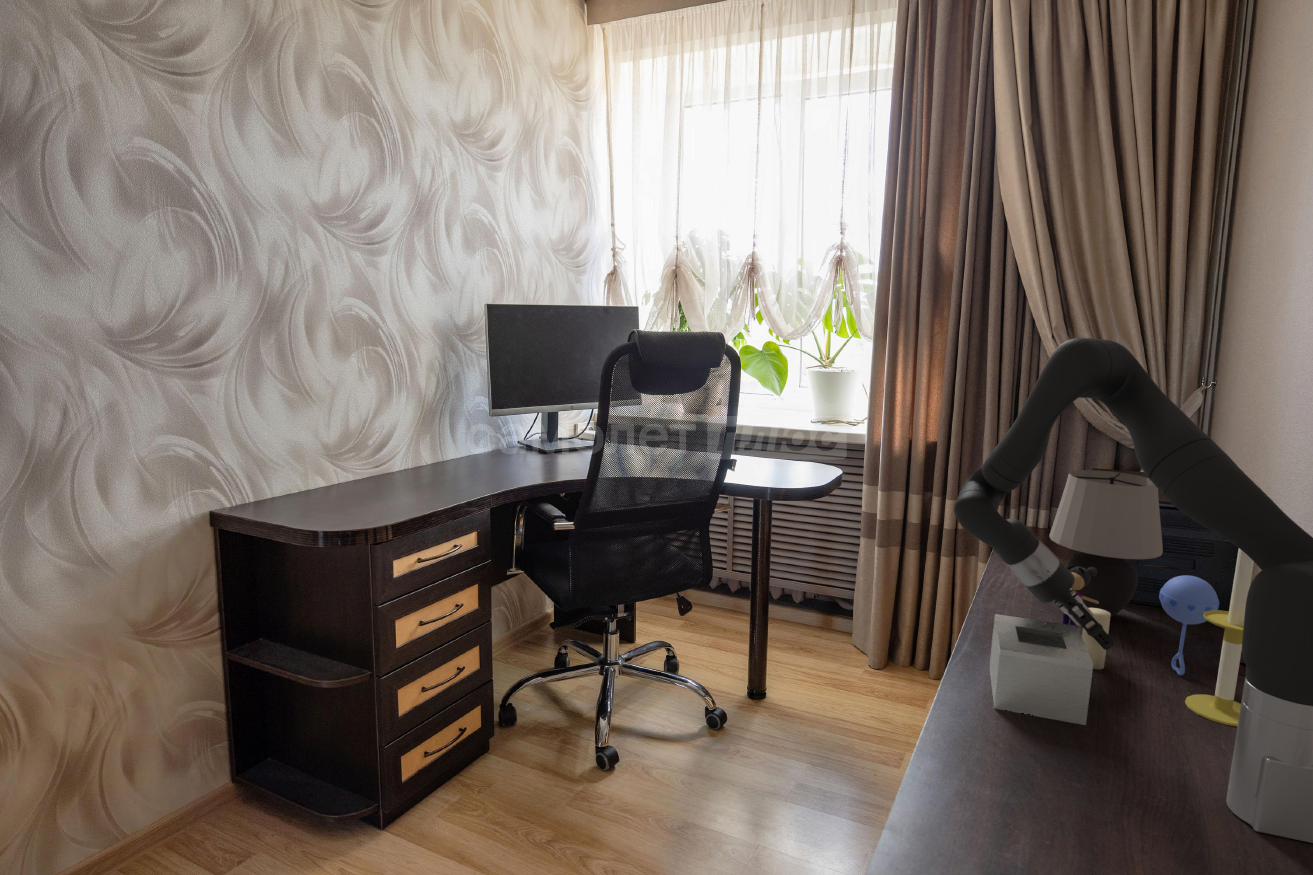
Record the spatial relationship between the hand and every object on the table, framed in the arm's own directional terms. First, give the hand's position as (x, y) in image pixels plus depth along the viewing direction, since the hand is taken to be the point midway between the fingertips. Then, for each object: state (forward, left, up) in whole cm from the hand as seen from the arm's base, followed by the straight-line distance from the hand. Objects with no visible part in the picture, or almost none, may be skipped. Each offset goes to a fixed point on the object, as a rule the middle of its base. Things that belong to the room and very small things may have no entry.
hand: (1101, 636), depth 140 cm
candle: (-11, -16, -6) cm, 20 cm away
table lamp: (+28, -4, -6) cm, 29 cm away
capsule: (0, +1, -5) cm, 5 cm away
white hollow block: (-17, +12, -5) cm, 22 cm away
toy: (+11, +3, -6) cm, 13 cm away
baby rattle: (+2, -13, -6) cm, 14 cm away
